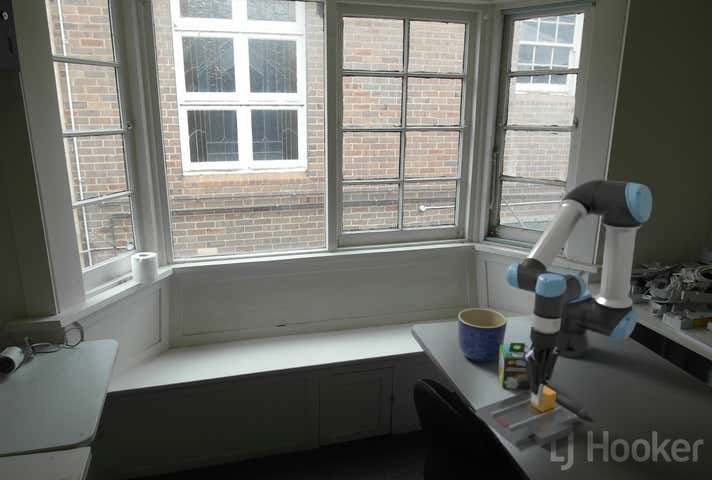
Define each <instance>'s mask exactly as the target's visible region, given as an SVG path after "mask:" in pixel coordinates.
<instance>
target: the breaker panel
mask: <svg viewBox="0 0 712 480" xmlns="http://www.w3.org/2000/svg"><path fill="white" fill-rule="evenodd" d="M531 390H532V389H530V390H527V391H525V392H521V393H519V394H516V395H514V396H510V397H507V398H505V399H501V400H499V401H496V402H494V403H490V404H488V405H484V406H482V407H478V408H476V409H475V416H477V417H478V418H480V419H481V420H482V421H483V422H484V423H486V424H487V425H488V426H489V427H490V428H492V429H493V430H494V429H495V432H497V433H498V432H499V433H500V436H502V437H503V438H504V439H506V440H507V441H508V442H509V443H511V444H512V445H513V446H514V447H518V446H520V445H523V444H525V443H528V442H529V441H532V440H534V439H535V434H536V433H538V432H541V431H543V430H546V429H548V428H550V427H553V426H555V425H558V424H560V423H563V422H565V421H567V422H568V423H570V424H571V425H572V424H573V423H575V422H578V420H579V415H578V414H576V413H574V412H573V411H571V410H570V409H568V408H566V407H565V406H563V405H562V404H560V403H559V402H557V401H555V408H552V409H550V410H547V411H545V412H541V411H540V410H538V409H537V408H535V407H534V406H532V405H531V397H532V392H531ZM499 433H498V434H499Z"/></svg>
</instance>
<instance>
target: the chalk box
mask: <svg viewBox="0 0 712 480" xmlns="http://www.w3.org/2000/svg"><path fill="white" fill-rule="evenodd" d="M529 352H530V348H529V346H528V345H527V344H526V343H525V342H510V343H509V344H503V345H500V354H499V356H498V358H499V359H498V372H497V373H498V377H499V380H500V384H501V387H502V389H511V390H513V389H514V390H515V389H516V390H527V391H530V390H532V383H530V382H529V381H527V375H526V365H525V359H524V357H523V354H524V353H526V354H528V353H529Z"/></svg>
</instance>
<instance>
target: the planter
mask: <svg viewBox="0 0 712 480" xmlns="http://www.w3.org/2000/svg"><path fill="white" fill-rule="evenodd" d="M457 318H458V319H457V321H458V322H457V323H458V324H457V325H458V345H459V349H460V350H461V353H462V354H463V355H464V356H465V357H466V358H468V359H469V360H472V361H474V362H480V363H481V362H482V363H483V362H484V363H486V362H490V361H493V360H495V359H496V358H499V354H500V345H504V342H505V335H506V330H507V324H508V319H507V317H506V316H505V315H503V314H502V313H500V312H498V311H495V310H492V309H487V308H478V307H476V308H468V309H467V308H466V309H464V310H461V311H460V312H459V313H458V317H457Z"/></svg>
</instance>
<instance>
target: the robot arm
mask: <svg viewBox="0 0 712 480" xmlns="http://www.w3.org/2000/svg"><path fill="white" fill-rule="evenodd" d="M652 197H653V195H652V193H651V190H650V188H649V187H648V186H647V185H645V184H641V183H635V182H634V181H632V182H631V181H630V182H628V181H616V180H604V179H593V180H592V179H591V180H588V181H584V182H583V183H581V184H579V185H577V186H576V187H575V188H573V189H571V190H570V191H569V192H568V193H567V194H566V195H565V196H564V197H563V199H561V201H560V203H559V204H558V211H557V212H556V214H555V215H554V216H553V218H552V219H551V221H550V222H549V224H548V225H547V227H546V228H545V230H544V231H543V232H542V234H541V235H540V236H539V238H538V240H537V241H536V242H535V244H534V245H533V247H532V248H531V250H530V251H529V252H528V254H527V256H526V257H525V258H524V259H523V261H522V263H520V262H519V263H517V262H513V263H512V264H510V265H509V267H508V268H507V270H506V276H505V277H506V278H505V279H506V281H507V284H508V285H510V286H512V287H514V288H516V289H519V290H523V291H527V292H530V293H533V294H535V295H534V302H533V303H534V304H533V311H532V316H531V317H532V318H531V327H530V328H531V329H530V332H529V333H530V335H529V339H530V341H531V345H530V348H529V350H530V352H529V353H528V354H526V353H524V354H523V357H524V359H525V365H526V375H527V381H529V382H530V383H531V389H530V390H531V392H532V397H531V401H532V402H533V403H535V404H536V405H538V406H539V405H540V404H541V396H542V393H543V388H544V385H545V386H547V385H548V384H549V383H548V382H547V381H550V380H551V379H552V376H553V372H554V370H555V369H554V368H555V365H556V363H557V360H558V358H559V356H561V357H564V358H571V359H581V358H582V359H583V358H586V357H588V356H589V355H590V352H591V345H590V341H589V337H588V336H589V335H588V331H591V332H594V333H597V334H600V335H602V336H605V337H609V338H610V339H612V338H613V339H615V340H620V341H623V340H626V339H628V338H629V336H631V334H632V332H633V331H634V329H635V327H636V325H637V321H638V320H639V311H638V309H636V308H635V307H634V308H633V305H634V304H633V303H634V302H633V300H632V298H630V296H629V293H630V285H631V277H632V267H633V260H634V259H633V258H634V251H635V242H636V234H637V230H639V229H640V228H641V227H642V226H643V223H644V222H646V221H648V220H649V218H650V216H651V212H652V209H653V198H652ZM590 215H594V216H601V224H602V225H603V226H604V227H605V236H604V237H605V238H604V247H603V249H604V250H603V259H602V269H601V279H600V280H601V281H600V290H599V293H597V294H596V295H595V296H594V297H593V293H592V291H590V290H588V289H587V284H586V281H585V280H584V278H583V277H582V276H580V275H579V274H576V273H566V274H561V273H558V272H553V271H549V269H550V267H551V266H552V264H553V263H554V261H555V259H556V258H557V257H558V255H559V253H561V251H562V249H563V248H564V246H565V244H566V243H567V242H568V240H569V239H570V237H571V236H572V234H573V233H574V231H575V229H576V228H577V227H578V225H579V224H580V222H583V221H585V220H586V219H587V218H588V216H590Z"/></svg>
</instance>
